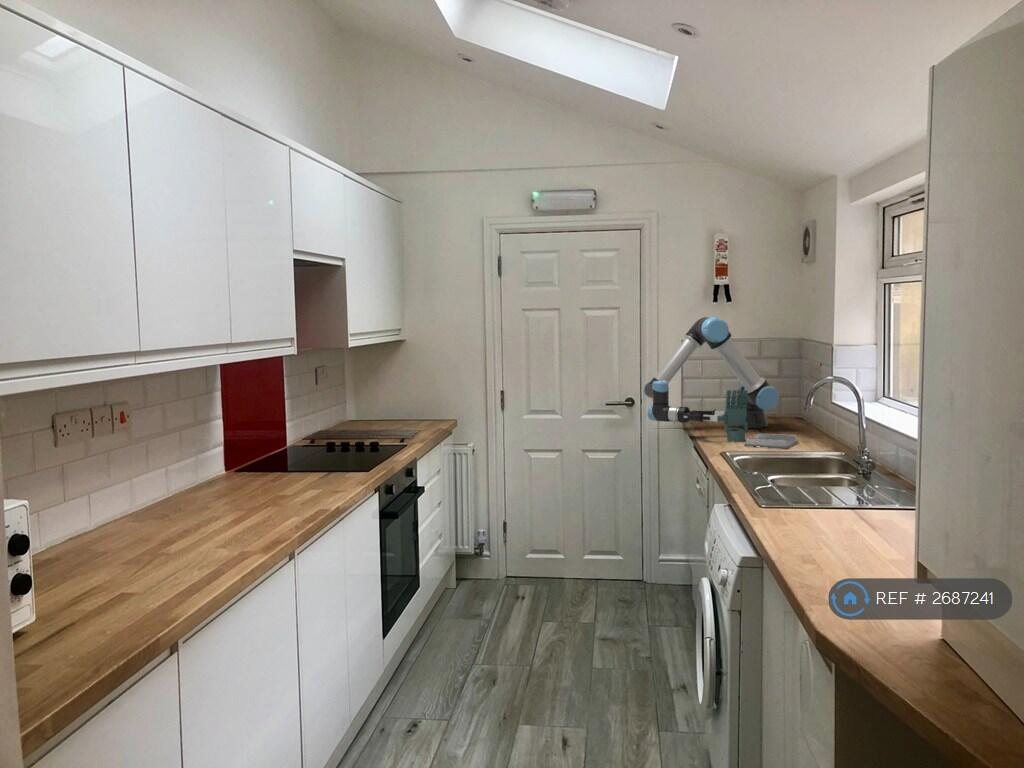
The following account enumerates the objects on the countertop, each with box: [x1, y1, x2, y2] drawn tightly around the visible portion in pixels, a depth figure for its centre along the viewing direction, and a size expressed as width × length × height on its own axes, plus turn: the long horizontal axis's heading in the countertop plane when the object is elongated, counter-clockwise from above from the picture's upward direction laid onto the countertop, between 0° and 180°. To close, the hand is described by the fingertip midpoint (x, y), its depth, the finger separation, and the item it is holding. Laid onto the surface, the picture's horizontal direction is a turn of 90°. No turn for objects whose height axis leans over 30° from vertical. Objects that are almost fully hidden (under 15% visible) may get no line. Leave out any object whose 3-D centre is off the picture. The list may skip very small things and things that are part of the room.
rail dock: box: [743, 432, 799, 450], centre depth 355 cm, size 18×18×4 cm
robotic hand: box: [717, 388, 748, 443], centre depth 366 cm, size 14×10×25 cm
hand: (722, 416), depth 370 cm, fingers open, 13 cm apart
